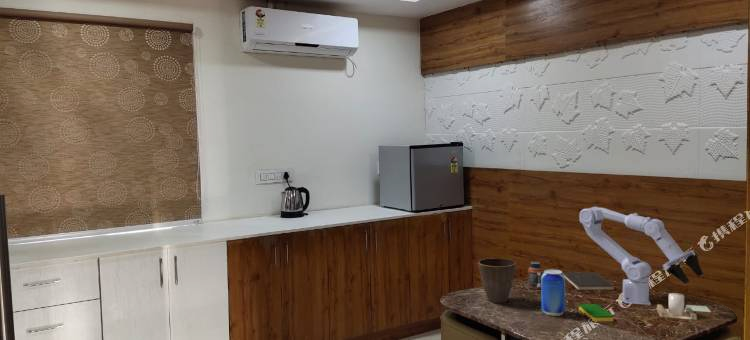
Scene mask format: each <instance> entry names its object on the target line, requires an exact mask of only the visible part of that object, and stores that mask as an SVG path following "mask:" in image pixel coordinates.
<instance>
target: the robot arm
mask: <svg viewBox="0 0 750 340" xmlns="http://www.w3.org/2000/svg"><path fill="white" fill-rule="evenodd" d="M605 219H606V220H609V221H614V222H618V223H621V224H625V227H627V228H629V229H631V230H635V231H637V232H638V231H639V232H642V233H644V234H645V235H647V236H648V237H651V239H653V241H654V242H655V244H656V245H657V246H658V248H659V249H660V250H661V252H662V253H663V254H664V255H665V257H666V258H667V259H668V260H669V261H667V262H665V263H664V264H662V267H663V268H664V270H665V271H666V272H667V273H669V274H670V275H672V276H673V277H676V278H677V279H678V280H679V281H680V282H682V283H683V284H685V285H686V284H687V283H689V282H690V280H689V278H688V277H687V275H686V274H685V272H684V271H683V268H682V267H681V264H680V263H681V262H683V263H684V264H685V265H687V266H688V267H689V268H690V269H691V270H692V271H693V272H694V274H696V276H698V277H700V276H702V275H704V273H703V271H702V267H701V265H700V263H699V258H698V255H697V254H696V253H695V252H694V250H692V249H690V250H688V251H686V252H684V251H683V250H682V248H681V247H680V246H679V245H678V243H676V241H675V240H674V239H673V237H672V236H671V235H670V234H669V232H668V231H667V229H665V224H664V222H663V221H662V220H660V219H658V218H652V219H651V217H650V216H647V217H644V216H641V215H639V213H636V212H635V213H630V214H628V215H625V214H623V213H620V212H617V211H614V210H611V209H608V208H605V207H599V206H592V207H589V208H583V209H582V210H580V211H579V222H580V224H582V226H583V228H584V230H585V233H586V234H587V236H588V237H589V238H590V239H591V240H592V241H593V242H594V243H596V244H597V245H598V246H599V247H600V248H602V249H603V250H604V251H605V252H606V253H608V255H609V256H611V257H612V258H613V259H614V260H615V261H616V262H618V263H619V264H620V265H621V270H623V272H624V273H625V274H626V276H627V278H626V279H624V278H623V279H622V296H621V298H622V299H623V302H624V303H625V304H635V305H647V306H649V305H652V303H651V301H650V300H649V297H650V296H649V294H650V292H649V291H650V290H649V289H650V286H649V285H650V279H649V277H650V275H651V274H652V267H651V266H650V264H649V263H648V262H646V261H643V260H641V259H640V258H638V257H637V256H636V257H635V256H633V255H632V254H630V253H628V251H626V250H625V249H624V248H623V247H621V245H619V244H618V243H617V242H616V241H615V240H614V239H612V238H611V236H609V235H608V234H606V233H605V232H604V231H603V230H602V223H603V220H605Z"/></svg>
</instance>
